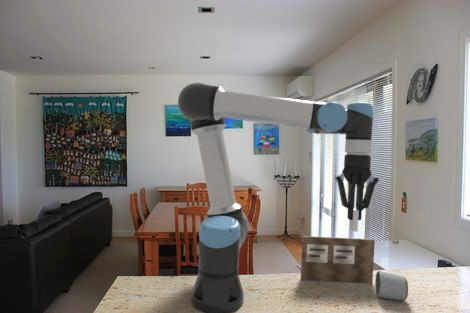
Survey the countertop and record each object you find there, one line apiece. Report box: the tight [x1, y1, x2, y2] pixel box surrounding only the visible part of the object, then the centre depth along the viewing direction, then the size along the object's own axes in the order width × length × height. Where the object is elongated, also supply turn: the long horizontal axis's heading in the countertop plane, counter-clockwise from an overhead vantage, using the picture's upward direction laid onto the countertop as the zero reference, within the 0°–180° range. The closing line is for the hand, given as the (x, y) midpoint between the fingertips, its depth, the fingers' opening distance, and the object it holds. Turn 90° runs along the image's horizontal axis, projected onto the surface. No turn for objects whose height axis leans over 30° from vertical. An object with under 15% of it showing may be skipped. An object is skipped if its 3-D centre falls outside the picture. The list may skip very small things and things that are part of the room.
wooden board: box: [300, 235, 376, 285], centre depth 107 cm, size 24×1×15 cm, turn 88°
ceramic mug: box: [374, 270, 409, 301], centre depth 99 cm, size 11×8×8 cm
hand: (353, 230), depth 98 cm, fingers closed
